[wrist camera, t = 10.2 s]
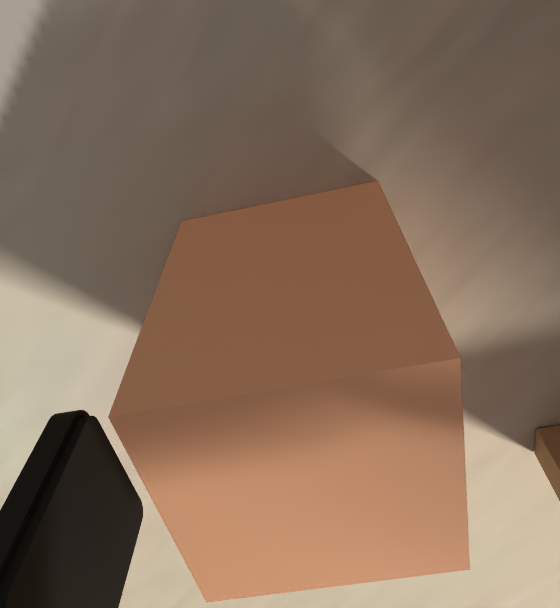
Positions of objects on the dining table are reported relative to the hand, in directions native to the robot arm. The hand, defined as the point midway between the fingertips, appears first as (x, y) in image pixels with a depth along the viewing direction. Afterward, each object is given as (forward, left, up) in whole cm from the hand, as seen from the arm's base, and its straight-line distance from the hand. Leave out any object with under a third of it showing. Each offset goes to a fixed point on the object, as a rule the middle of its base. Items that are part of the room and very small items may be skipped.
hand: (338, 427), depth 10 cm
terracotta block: (+1, 0, -5) cm, 5 cm away
